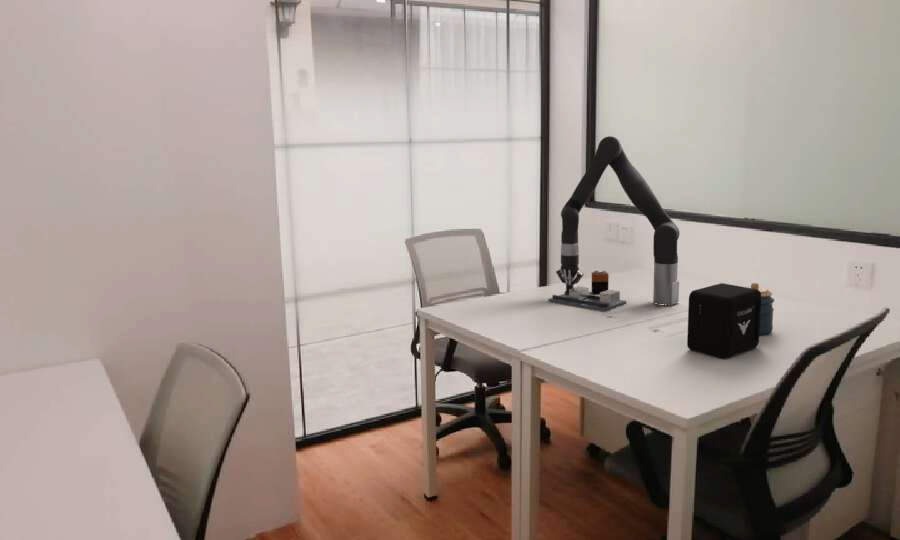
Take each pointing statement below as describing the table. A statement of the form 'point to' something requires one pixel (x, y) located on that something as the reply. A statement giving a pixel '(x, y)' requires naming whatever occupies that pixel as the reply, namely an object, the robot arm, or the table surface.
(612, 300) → the dark grey piece
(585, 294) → the block
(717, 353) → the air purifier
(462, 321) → the table surface
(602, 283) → the battery
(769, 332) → the canister
